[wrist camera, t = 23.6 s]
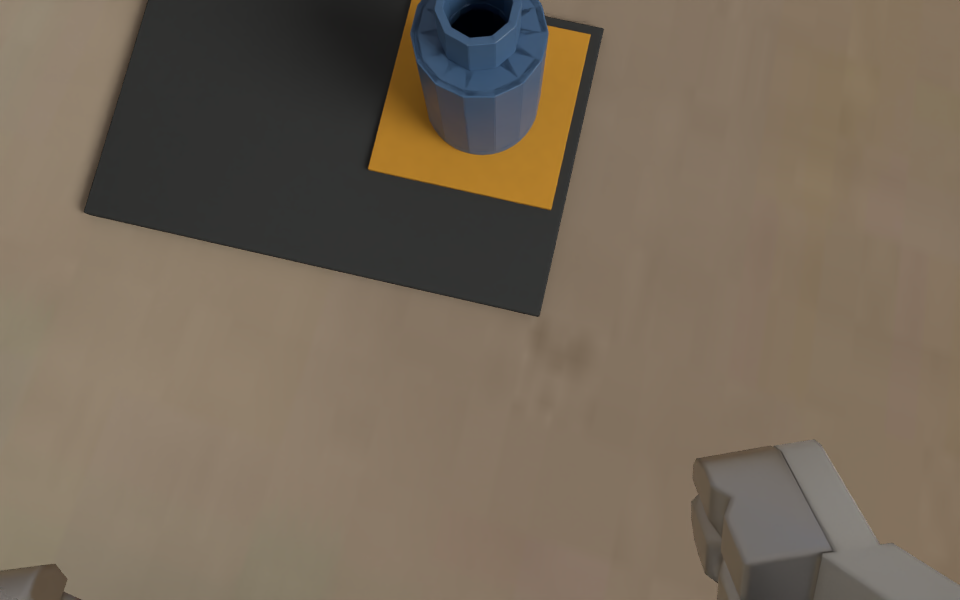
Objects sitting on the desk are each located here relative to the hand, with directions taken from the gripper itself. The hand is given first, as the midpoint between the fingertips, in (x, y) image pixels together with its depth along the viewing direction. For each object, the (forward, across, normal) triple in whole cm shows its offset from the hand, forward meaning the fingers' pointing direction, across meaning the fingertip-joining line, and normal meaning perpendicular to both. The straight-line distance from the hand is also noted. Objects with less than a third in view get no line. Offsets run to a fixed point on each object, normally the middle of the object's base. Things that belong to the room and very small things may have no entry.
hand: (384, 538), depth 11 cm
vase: (+27, -3, +6) cm, 28 cm away
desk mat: (+28, +3, +6) cm, 29 cm away
